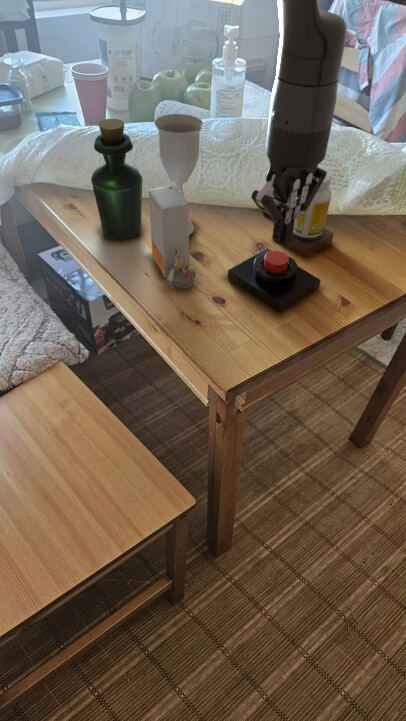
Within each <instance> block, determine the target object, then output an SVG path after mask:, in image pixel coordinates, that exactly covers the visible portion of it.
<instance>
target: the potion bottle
mask: <svg viewBox="0 0 406 721" xmlns="http://www.w3.org/2000/svg"><path fill="white" fill-rule="evenodd" d="M97 124H98V128H99V131H100V134H99V135H98V136H96V138H95V140H94V143H93V144H94V145H93V148H94V151H96V152H97V153H98V154H102V157H103V159H104V162H105V163H103V164H101V165H99V166H98V167H96V168H95V169H94V171H93V173H92V176H91V177H90V181H91V185H92V190H93V194H94V198H95V202H96V208H97V211H98V214H99V220H100V224H101V229H102V232H103V234H104V235H105V236H106V237H108V238H109V239H112V240H116V241H127V240H130V239H133V238H135V237H136V236H137V235H138V234H139V233H140V232H141V230H142V208H143V206H142V205H143V176H142V173H141V172H140V171H139V169H138V168H137V167H135V165H133V164H130V163H128V162H126V158H127V157H126V156H127V153H129V152H131V151H132V150H133V148H134V145H133V143H132V140H131V137H130V136H129V135H127V133H124V131H125V122H124V120H122V119H119V118H106V119H102V120H100V121H98V123H97Z"/></svg>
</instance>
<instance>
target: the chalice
mask: <svg viewBox="0 0 406 721" xmlns="http://www.w3.org/2000/svg"><path fill="white" fill-rule="evenodd" d="M154 125H155V127H156V129H157V131H158V156H159V159H160V161H161V164H162V167H163V168H164V170H165V172H166V174H167V176H168V178H169V180H170V181H171V182H172V183H174V184H175V187H176V188H177V189H178V190H179V192H181V194H182V195H183V196H184V195H185V192H184V189H183V184H184V183H187V182H188V181H189V180H190V178H191V176H192V174H193V172H194V170H195V169H196V167H197V163H198V161H199V158H200V132H201V130H202V129H203V127H204V121H203V120H202V119H201V118H199V117H197V116H195V115H194V116H193V115H190V114H184V113H171V114H165V115H162V116H161V115H160V117H157V118H156V119H155V120H154ZM194 231H195V227H194V225H193V223H192V220H191V218H190V217H189V236H190V235H192V234H193V233H194Z"/></svg>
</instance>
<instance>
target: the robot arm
mask: <svg viewBox="0 0 406 721" xmlns="http://www.w3.org/2000/svg"><path fill="white" fill-rule="evenodd" d="M277 9H278V19H279V33H280V35H279V36H280V37H279V45H278V53H277V63H276V72H275V78H274V83H273V87H272V91H271V96H270V104H269V105H270V106H269V116H268V122H267V123H268V124H267V134H266V143H265V154H266V156H267V159H268V161H269V168H268V170H267V173H266V176H265V181H266V183H265V184H264V185H263V187H262V188H261V190H260V191H259V190H258V189H255V190H254V191H252V193H251V197H250V198H251V199H252V201H253V202H254V204H255V205H256V207H257V208H258V211H260V213H261V214H262V216H263V217H264V218H265V219H267V220H269V221H270V222H273V229H272V235H271V237H272V240H273V242H274V243H276V244H278V245H279V246H281V247H284V246H285V245H286V244H288V243H289V242H291V238H292V235H293V230H294V224H295V220H296V219H297V218H298V217H299V214H300V212H301V211H303V212H305V211H306V210H307V208H308V207H309V205H310V203H311V202H312V200H313V198H314V196H315V195H316V193H317V191H318V189H319V188H320V186H321V184H322V182H323V181H324V179H325V177H326V175H327V173H328V172H327V170H324V169H322V168H321V167H319V165H320V164H321V163H322V162H323V161H324V160H325V158H326V154H327V150H328V144H329V140H330V134H331V131H332V130H331V129H332V124H333V119H334V115H335V110H336V103H337V95H338V84H339V79H340V78H339V77H340V72H341V67H342V63H343V62H342V61H343V56H344V51H345V47H346V46H345V45H346V40H347V31H348V30H347V29H348V28H347V23H346V21H345V20H344V18H343V17H342V16H340V15H339V14H337V13H333V12H331V11H327V10H323V9H322V10H321V9H320V8H319V3H318V0H277ZM307 193H308V194H307Z"/></svg>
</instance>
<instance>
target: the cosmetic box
mask: <svg viewBox="0 0 406 721" xmlns="http://www.w3.org/2000/svg"><path fill="white" fill-rule="evenodd" d="M176 187H177V186H176V184H171V185H166V186H160V187H155V188H150V189H148V202H149V219H150V236H151V237H150V238H151V239H150V240H151V256H152V258H153V260H154V261H155V262H156V264H157V266H158V268H159V269H160V271H161V273H162V275H163V277H165V278H167V276H166V272H167V270H168V268H170V267H171V266H173V265H175V262H176V259H177V257H176V259H175V253H176V250H179V252H180V254H181V257H182V261H183V264H184V261H187V263H188V264H187V265H189V266H190V258H189V257H190V244H189V243H190V235H189V218H190V204H189V202H188V201H187V199H186V198H185V197H184V195H182V194H181V192H179V190H178V189H177V188H176ZM181 257H180V258H181Z"/></svg>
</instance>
